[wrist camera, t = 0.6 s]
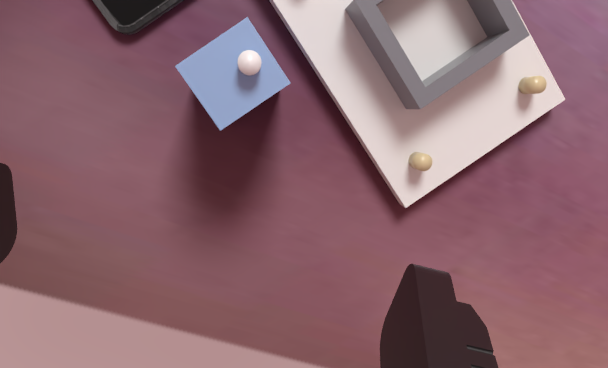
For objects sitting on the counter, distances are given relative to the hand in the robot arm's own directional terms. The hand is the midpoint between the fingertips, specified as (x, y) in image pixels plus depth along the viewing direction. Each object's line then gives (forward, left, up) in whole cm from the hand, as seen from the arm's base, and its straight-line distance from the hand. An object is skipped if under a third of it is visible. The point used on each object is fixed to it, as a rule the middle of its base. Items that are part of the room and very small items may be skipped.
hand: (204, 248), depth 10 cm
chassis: (0, +15, -26) cm, 30 cm away
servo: (-4, +3, -26) cm, 26 cm away
